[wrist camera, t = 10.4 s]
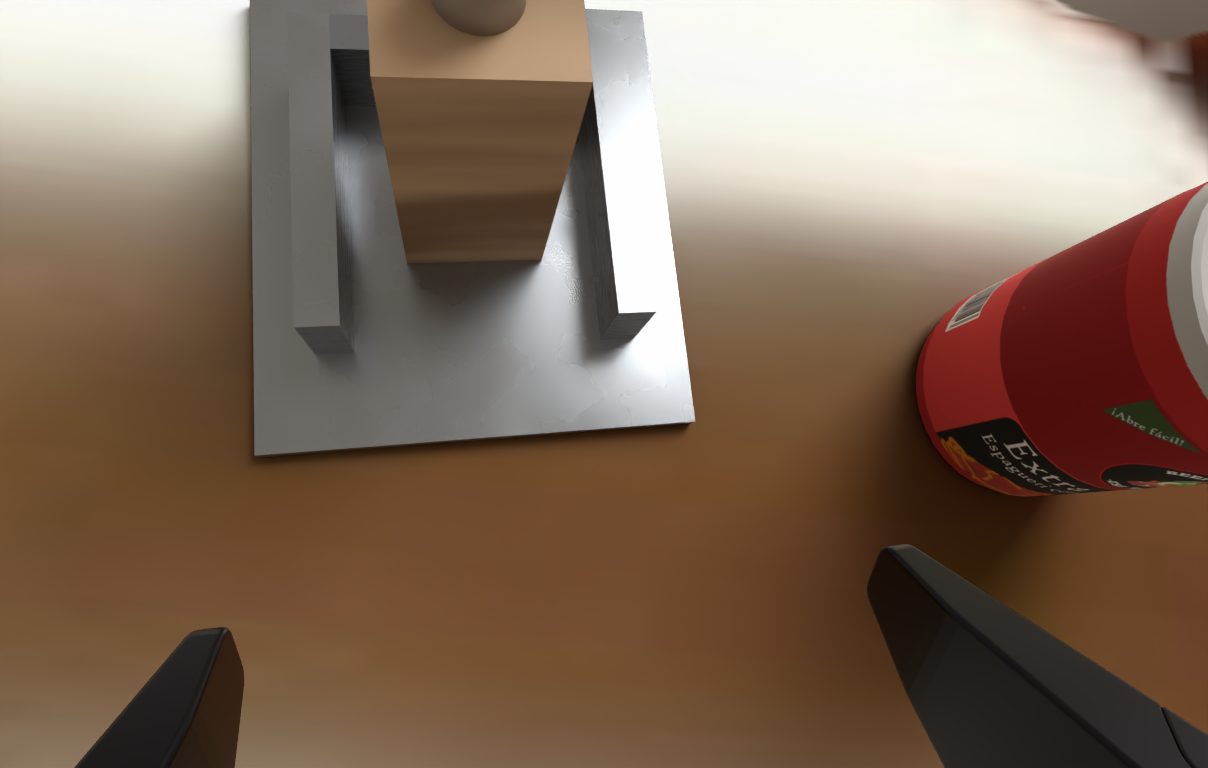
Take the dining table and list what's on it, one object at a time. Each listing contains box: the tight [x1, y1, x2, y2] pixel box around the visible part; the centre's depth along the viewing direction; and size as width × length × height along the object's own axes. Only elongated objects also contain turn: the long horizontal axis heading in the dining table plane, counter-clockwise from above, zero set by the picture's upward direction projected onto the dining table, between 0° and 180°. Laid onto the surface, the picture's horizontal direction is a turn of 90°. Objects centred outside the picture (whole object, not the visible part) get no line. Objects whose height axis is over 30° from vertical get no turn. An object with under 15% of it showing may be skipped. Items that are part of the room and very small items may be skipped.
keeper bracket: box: [250, 0, 695, 457], centre depth 23 cm, size 16×14×4 cm
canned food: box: [916, 182, 1208, 497], centre depth 22 cm, size 8×8×11 cm
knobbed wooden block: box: [367, 0, 593, 263], centre depth 19 cm, size 4×4×12 cm
